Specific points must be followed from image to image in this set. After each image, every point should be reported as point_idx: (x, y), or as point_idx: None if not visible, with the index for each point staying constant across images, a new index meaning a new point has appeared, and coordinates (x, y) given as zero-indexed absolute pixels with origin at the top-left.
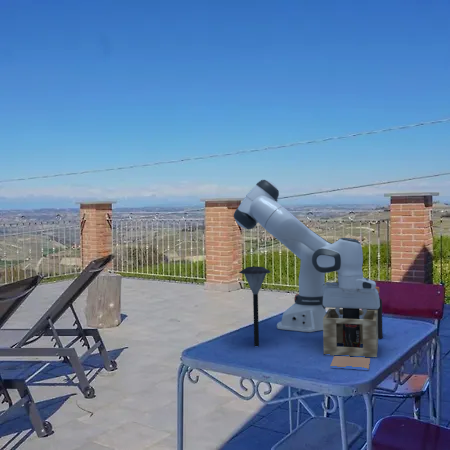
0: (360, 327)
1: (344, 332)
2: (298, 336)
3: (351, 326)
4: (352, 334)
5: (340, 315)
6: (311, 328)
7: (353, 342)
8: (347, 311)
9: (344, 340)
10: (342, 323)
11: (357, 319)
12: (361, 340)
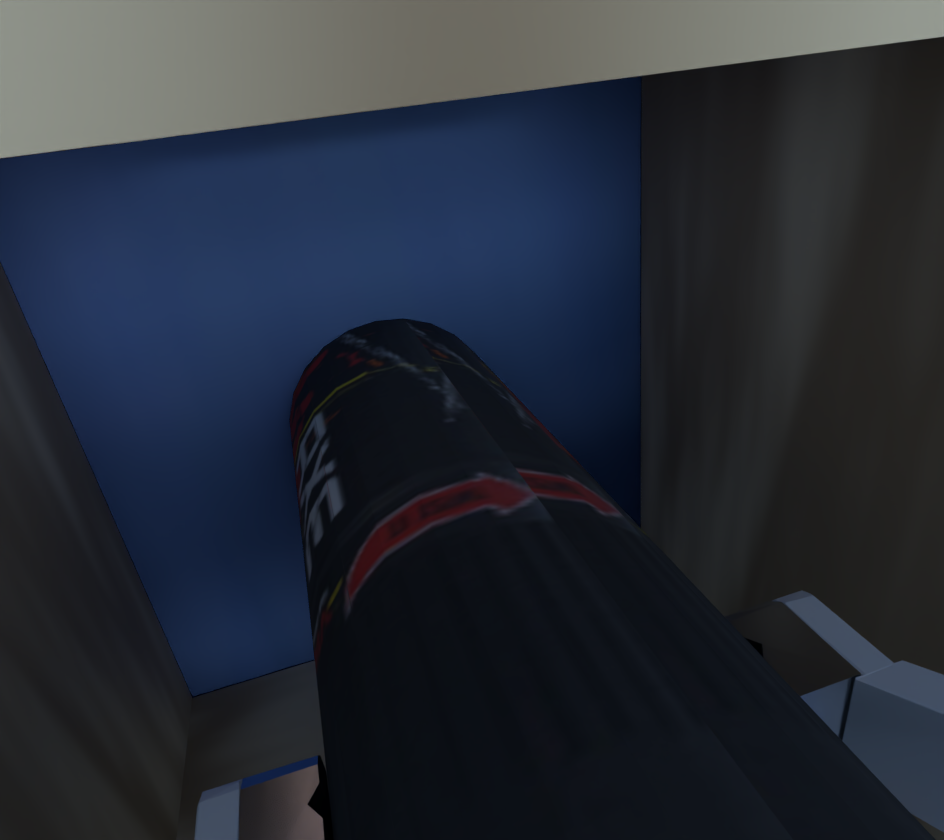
0: None
1: (556, 441)
2: None
3: (459, 494)
4: (400, 420)
5: (847, 691)
6: None
7: (363, 376)
8: (804, 804)
9: (508, 391)
10: None
11: (16, 18)
12: None
